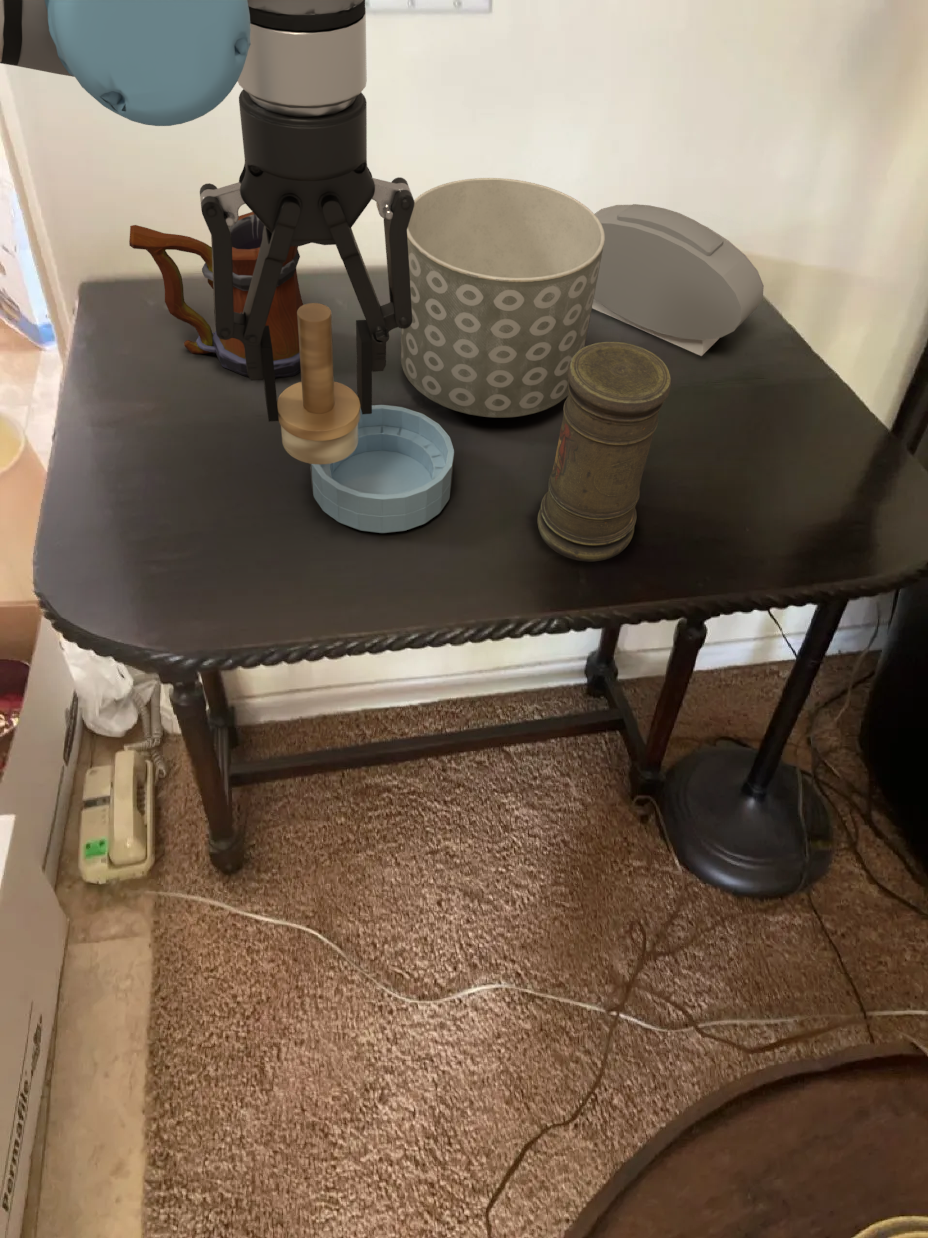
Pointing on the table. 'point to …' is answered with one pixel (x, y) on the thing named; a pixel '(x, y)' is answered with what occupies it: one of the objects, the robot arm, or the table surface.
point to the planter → (498, 294)
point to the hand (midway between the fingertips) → (318, 406)
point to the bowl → (388, 473)
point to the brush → (318, 397)
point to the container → (602, 450)
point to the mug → (244, 260)
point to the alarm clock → (673, 277)
